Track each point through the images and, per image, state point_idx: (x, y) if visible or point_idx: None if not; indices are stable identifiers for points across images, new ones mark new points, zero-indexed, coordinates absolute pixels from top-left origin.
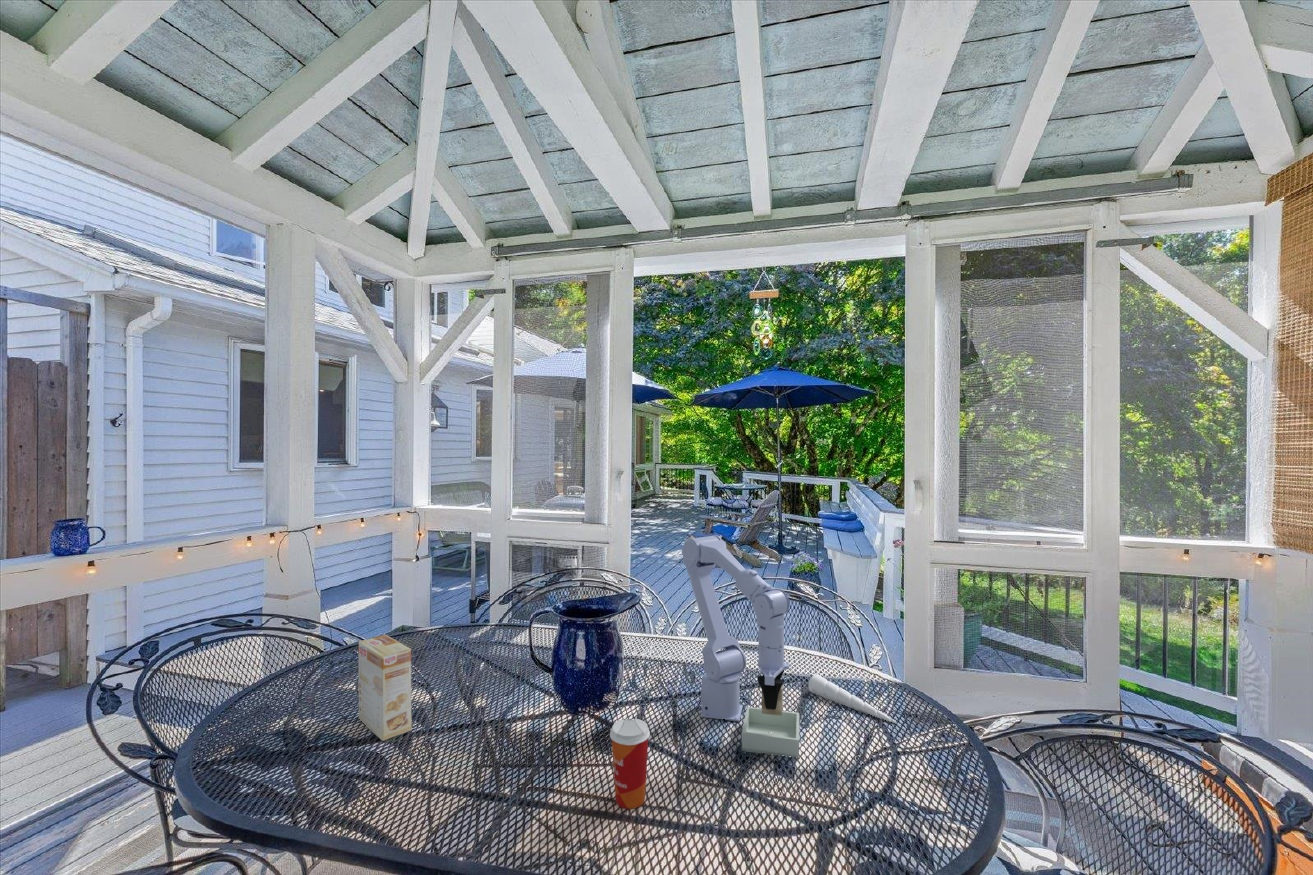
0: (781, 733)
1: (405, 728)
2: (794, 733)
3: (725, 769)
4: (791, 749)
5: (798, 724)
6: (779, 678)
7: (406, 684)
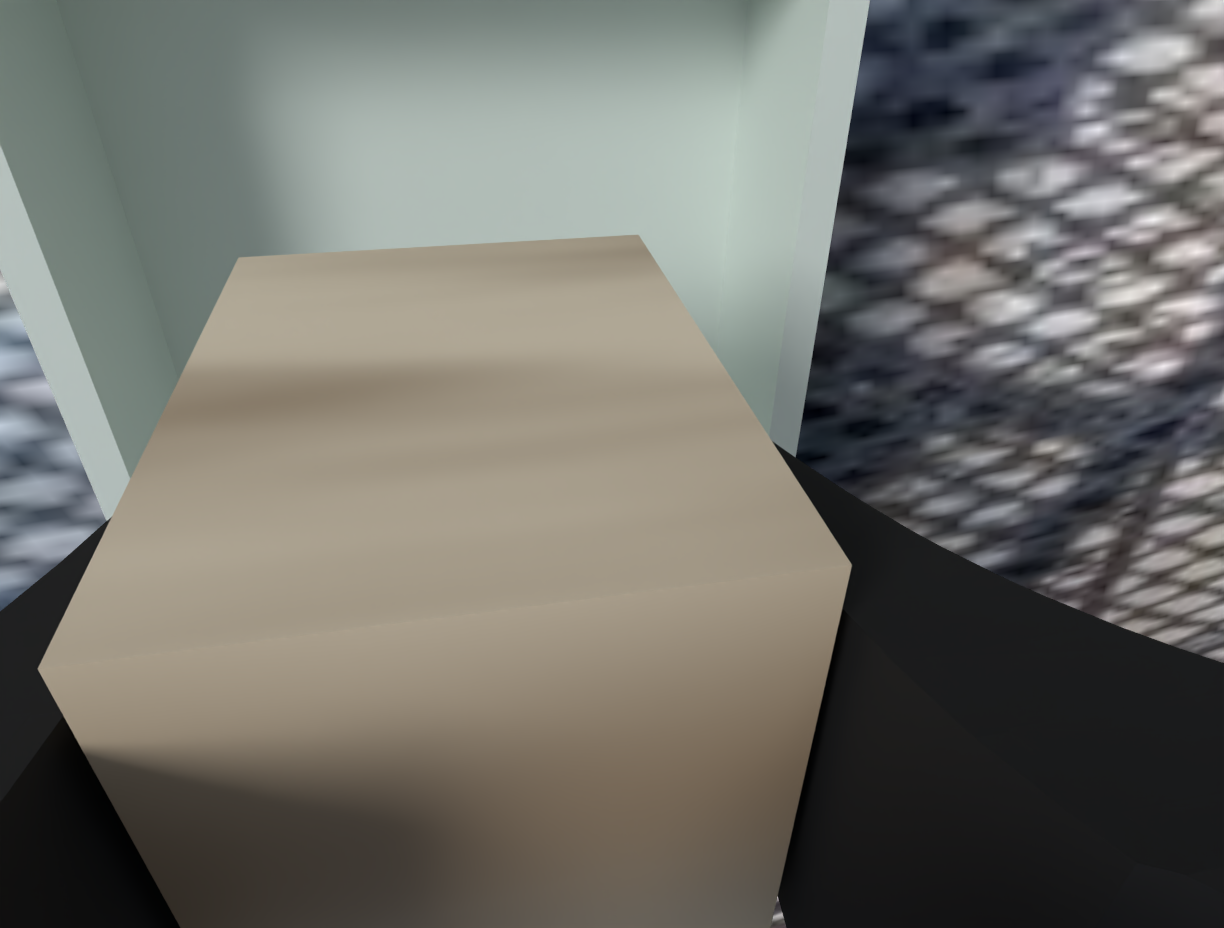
0: (310, 145)
1: None
2: None
3: (972, 515)
4: None
5: None
6: (41, 819)
7: None
